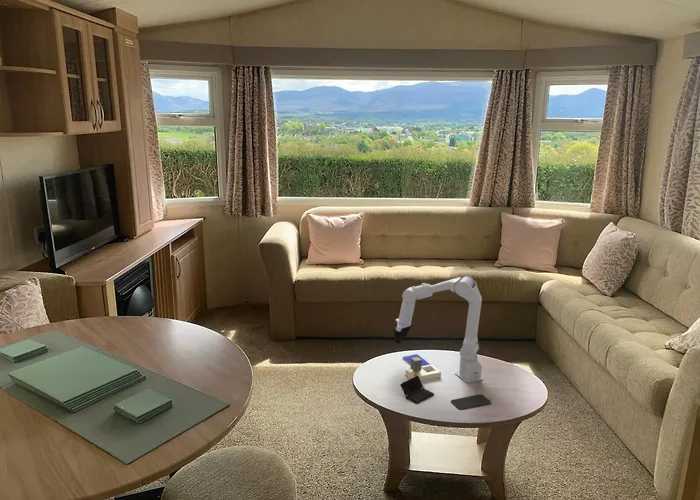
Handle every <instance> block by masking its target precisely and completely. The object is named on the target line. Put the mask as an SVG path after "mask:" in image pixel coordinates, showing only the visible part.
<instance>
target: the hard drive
mask: <svg viewBox="0 0 700 500" xmlns="http://www.w3.org/2000/svg"><path fill="white" fill-rule="evenodd" d="M413 357H419V358H420V359H421V360H422V366H426V365H432V364H430V363H429V362H428V361H427V360H426V359H424V358H423V357H422V356H420V355H419V354H412V355H411V354H410V355H405V356H402V360H403V361H405V362H406V363H407V364H408V365H409V366H411V358H413Z"/></svg>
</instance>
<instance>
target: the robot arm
mask: <svg viewBox="0 0 700 500" xmlns="http://www.w3.org/2000/svg"><path fill="white" fill-rule="evenodd" d="M448 290H449V291H451V292H452V293H456V294H457V295H458V296H459V297H460V298H463V299H465V300H466V301H467V302H468V309H467V310H468V311H467V317H466V318H467V319H466V327H465V335H464V339H463V342H462V347H461V348H460V350H459V356H460V357H459V371H457V372H454V375H456V376H457V377H459V378H461V380H462V381H464V382H465V383H467V384H469V383H473V382H479V381H482V380H483V377H482V369H483V368H482V364H481V363H480V362H479V360H478V359H479V358H478V355H477V353H478V351H479V350H480V345H479V341H478V340H479V338H478V332H479V324H480V316H481V309H482V301H483V297H482V295H481V293H480V291H479V288H478V285H477V281H475V280H474V278H473V277H471V276H469V275H465V276H463V277H461V276H460V277H459V276H458V277H455V278H452V279H451V278H450V279H449V280H444V281H441V282H439V283H436V284H432V285H431V283H425V282H422V283H421V285H416V286H415V285H413V286H410V287H408V288H406V289H405V290H404V291H403V292H402V295H401V297H402V302H401V307H400V311H399V315H398V318H396V319H395V322H396V323H397V324H396V325H397V326H394V327H393V332H394V342H395V344H398V345H400V344H401V342H402V339H403V338H404V339H406V338H407V336H408V334H409V332H410V331H411V328H412V327H413V326H414V323H413V322H412V318H413V315H414V310H415V307H416V306H415V305H416V301H417V300H421V299H426V298H429V297H432V296H433V294H434V293H439V292H443V291H448Z"/></svg>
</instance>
